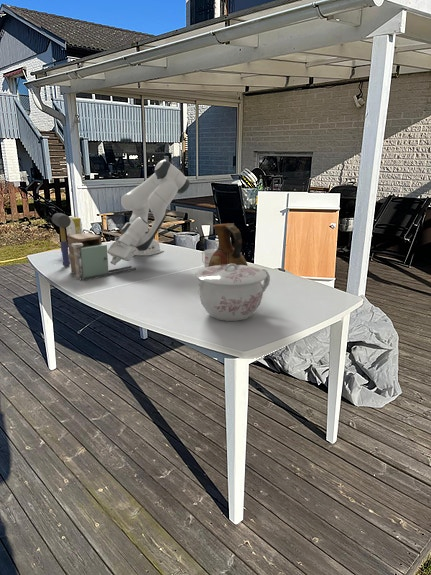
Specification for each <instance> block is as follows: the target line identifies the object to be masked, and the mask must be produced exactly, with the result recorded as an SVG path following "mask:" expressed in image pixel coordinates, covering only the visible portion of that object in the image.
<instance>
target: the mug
mask: <svg viewBox="0 0 431 575" xmlns="http://www.w3.org/2000/svg"><path fill="white" fill-rule="evenodd" d="M217 249H218V248H217ZM217 249H215V248H210V249H205V250H203V251H202V252H201V260H202V263H203V265H204V268H205V267H208V266H209V262H210V259H211V257H212V255H213V253H214V252H215V251H216V250H217Z"/></svg>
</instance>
